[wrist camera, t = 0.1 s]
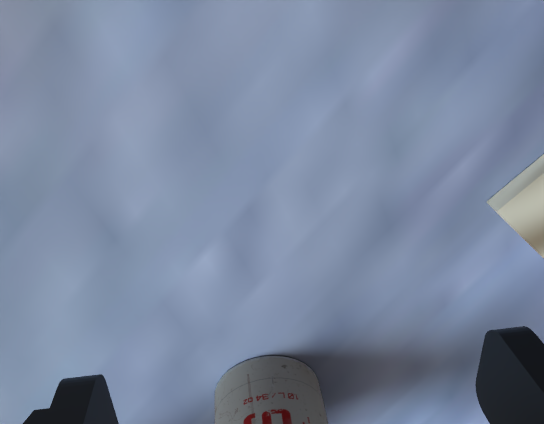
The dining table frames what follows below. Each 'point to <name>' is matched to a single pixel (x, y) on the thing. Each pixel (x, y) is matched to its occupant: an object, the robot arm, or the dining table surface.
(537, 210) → the stand
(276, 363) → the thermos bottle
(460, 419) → the dining table surface
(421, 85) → the dining table surface
